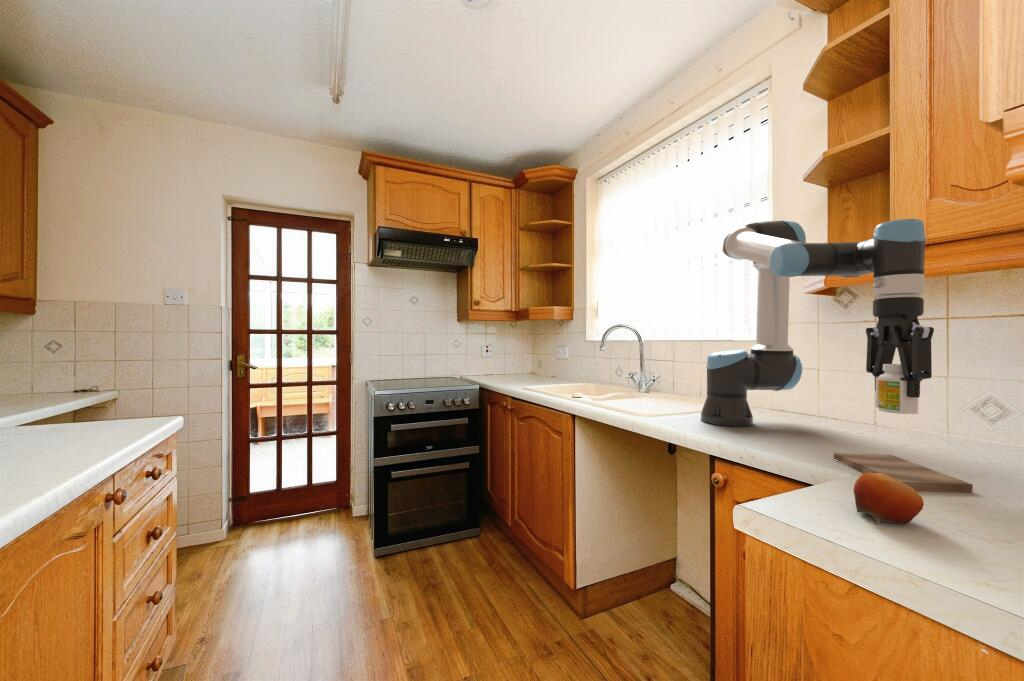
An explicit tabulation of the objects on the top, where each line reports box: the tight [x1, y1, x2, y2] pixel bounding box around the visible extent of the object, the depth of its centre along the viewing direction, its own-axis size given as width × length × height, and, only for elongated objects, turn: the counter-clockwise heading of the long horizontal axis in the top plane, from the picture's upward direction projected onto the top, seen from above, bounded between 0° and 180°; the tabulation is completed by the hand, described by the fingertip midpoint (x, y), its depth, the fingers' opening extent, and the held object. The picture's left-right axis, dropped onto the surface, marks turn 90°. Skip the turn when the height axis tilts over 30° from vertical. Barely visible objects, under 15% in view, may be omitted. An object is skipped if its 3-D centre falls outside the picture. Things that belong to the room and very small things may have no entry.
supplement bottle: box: [877, 363, 904, 415], centre depth 83 cm, size 5×5×10 cm
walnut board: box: [833, 452, 973, 493], centre depth 83 cm, size 18×12×2 cm, turn 174°
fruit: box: [853, 473, 925, 526], centre depth 63 cm, size 8×8×8 cm
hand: (895, 410), depth 83 cm, fingers closed on supplement bottle, 5 cm apart
